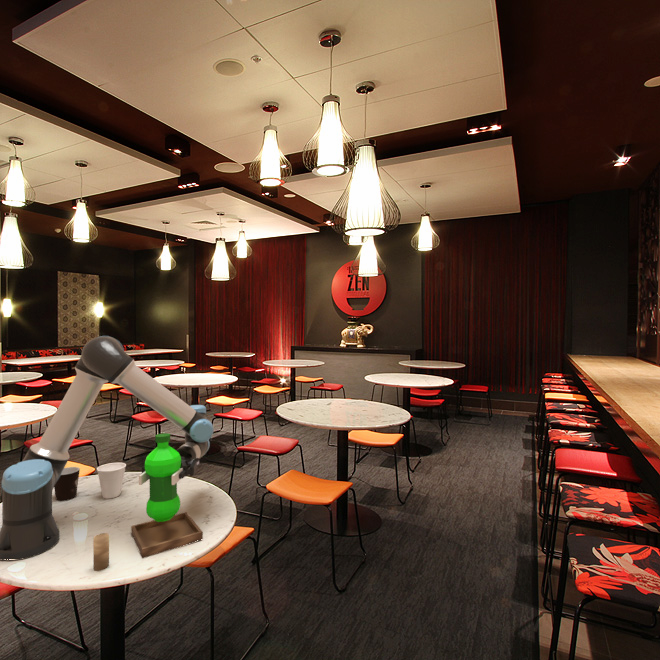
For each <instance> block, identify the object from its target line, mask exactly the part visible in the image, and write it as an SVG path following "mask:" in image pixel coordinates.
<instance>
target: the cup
mask: <svg viewBox="0 0 660 660" xmlns="http://www.w3.org/2000/svg"><path fill="white" fill-rule="evenodd" d="M126 467H127V463H125V462H111V463H110V462H109V463H106V464H102V465H100V466H97V467H96V471H97V474H98V481H99V485H100V490H101V491H100V492H101V495H102V498H104V499H106V500H107V499H110V500H111V499H115V498H117V497H119V496H120V495H121V494H122V488H123V484H124V483H123V482H124V478H125V472H126Z"/></svg>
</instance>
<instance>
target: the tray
mask: <svg viewBox="0 0 660 660" xmlns="http://www.w3.org/2000/svg"><path fill="white" fill-rule="evenodd" d="M130 527H131V528H130V529H131V530H130V531H131V532H130V534H131V537H132V539H133V541H134V543H135V545H136V546H137V547H136V548H137V550H138V552H139V553H140V556H141V558H142V559H144V558H146V557H147V558H148V557H151V556H154V555H157V554H160V553H165V552H167V551H171V550H174V548H175V549H178V548H181V547H184V546H183V545H185V546H187V545H186V544H188V545H190V544H189V543H191V544H193V543H192V542H195V541H197V540H201V539H204V538H203V537H204V535H203V534H204V533H203V530H202V529H201V528H200V527H199V526H198V524H197V523H196V522H195V521H194V520H193V518H192V517H191V516H190V514H189V513H188V512H187V511H183V512H180V513H176V514H175V515H174V516H173V518H171V519H170V520H167V521H164V522H157V521H155V520H154V519H152V520H149V521H146V522H141V523H137V524H134V525H133V524H132V525H131V526H130ZM201 541H202V540H201ZM195 543H196V542H195ZM180 546H181V547H180ZM177 547H178V548H177Z"/></svg>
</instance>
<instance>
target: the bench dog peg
mask: <svg viewBox="0 0 660 660" xmlns="http://www.w3.org/2000/svg"><path fill="white" fill-rule="evenodd" d="M92 542H93V543H92V544H93V546H92V547H93V551H92V552H93V558H92V559H93V561H92V562H93V570H94V571H95V572H99V571H103V570H106V569H107V568H109V567H110V534H109V533H107V532H105V533H104V532H103V533H99V534H96V535H94V536H93V541H92Z"/></svg>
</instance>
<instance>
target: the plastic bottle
mask: <svg viewBox="0 0 660 660" xmlns="http://www.w3.org/2000/svg"><path fill="white" fill-rule="evenodd" d="M170 441H171V433H166V432H165V433H157V434H156V435H155V443H157V446H156V447H155V448H154V449H152V450H151V452H150V453H148V454H147V456H146V458H145V461H144V466H145V471H146V473H147V474H148V475H149V498H148V499H147V502H146V507H145V508H146V515H147V516H148V517H149V518H151V519H152V520H155V521H157V522H164V521H167V520H170V519H171V518H173V516H174V515H176V514H178V512H179V510H180V509H181V498H180V496H179V494H178V484H177V483H178V482H177V483H176V484H175V485H172V475H173V474H174V473H175V472H177V471H178V470H179V469H180V467H181V456H180V454H179V452H177V451H176V450H177V449H175V448H174V447H172V446H170V445H169V442H170Z"/></svg>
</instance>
